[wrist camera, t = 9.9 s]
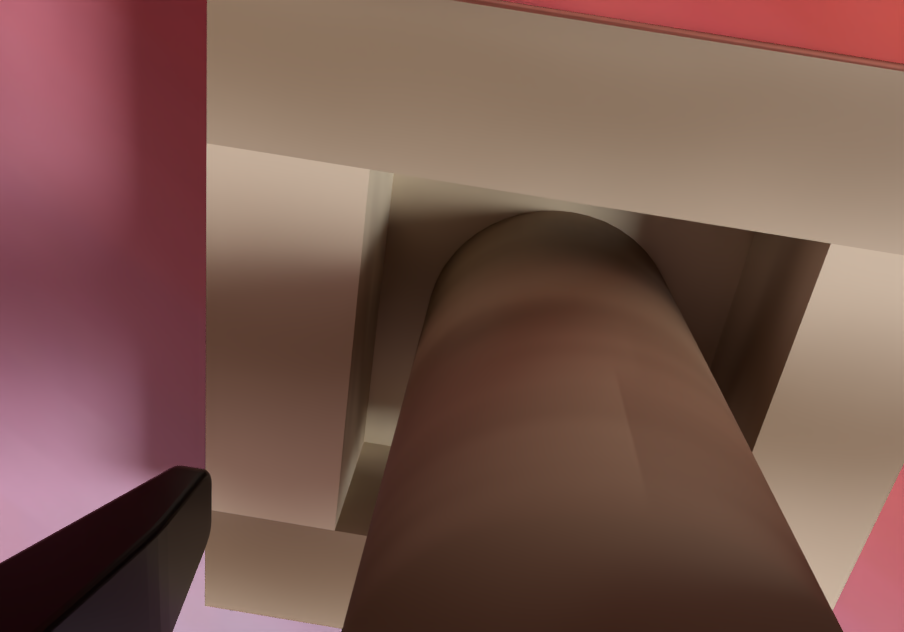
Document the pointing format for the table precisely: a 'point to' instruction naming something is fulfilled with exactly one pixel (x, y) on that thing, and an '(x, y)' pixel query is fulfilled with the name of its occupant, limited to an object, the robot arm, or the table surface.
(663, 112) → the socket block
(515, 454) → the peg
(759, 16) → the table surface
